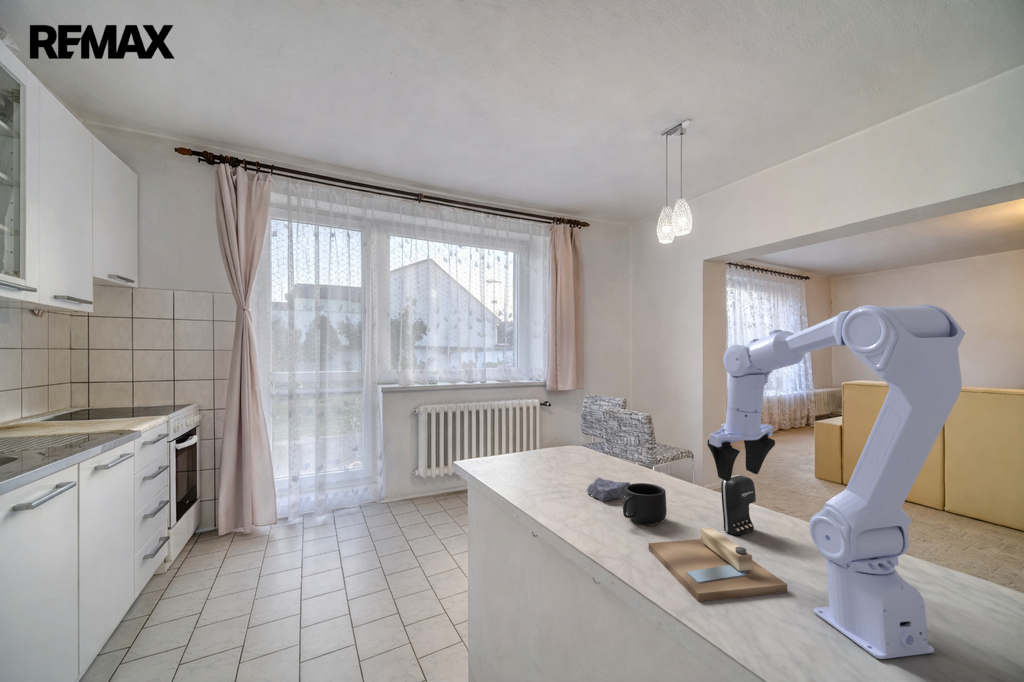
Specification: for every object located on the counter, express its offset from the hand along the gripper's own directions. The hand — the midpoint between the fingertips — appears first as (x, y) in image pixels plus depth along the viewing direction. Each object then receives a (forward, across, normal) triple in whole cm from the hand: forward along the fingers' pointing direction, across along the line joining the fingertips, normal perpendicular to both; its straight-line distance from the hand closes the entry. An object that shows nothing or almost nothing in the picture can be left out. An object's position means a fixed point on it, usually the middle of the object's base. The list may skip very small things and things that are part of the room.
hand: (738, 475), depth 77 cm
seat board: (+13, +11, +5) cm, 18 cm away
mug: (+18, +8, -16) cm, 25 cm away
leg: (+12, +8, +5) cm, 15 cm away
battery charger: (+16, -6, -3) cm, 17 cm away
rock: (+21, +6, -34) cm, 41 cm away
